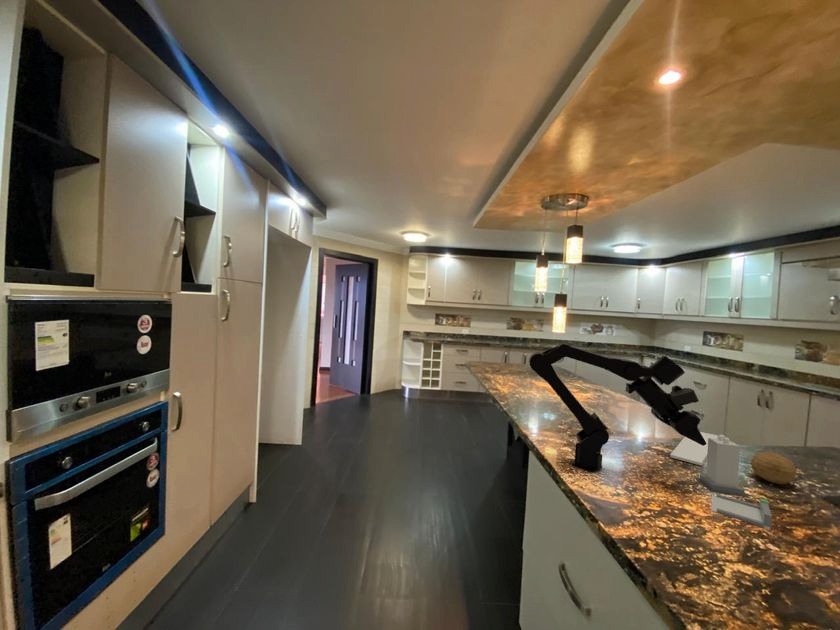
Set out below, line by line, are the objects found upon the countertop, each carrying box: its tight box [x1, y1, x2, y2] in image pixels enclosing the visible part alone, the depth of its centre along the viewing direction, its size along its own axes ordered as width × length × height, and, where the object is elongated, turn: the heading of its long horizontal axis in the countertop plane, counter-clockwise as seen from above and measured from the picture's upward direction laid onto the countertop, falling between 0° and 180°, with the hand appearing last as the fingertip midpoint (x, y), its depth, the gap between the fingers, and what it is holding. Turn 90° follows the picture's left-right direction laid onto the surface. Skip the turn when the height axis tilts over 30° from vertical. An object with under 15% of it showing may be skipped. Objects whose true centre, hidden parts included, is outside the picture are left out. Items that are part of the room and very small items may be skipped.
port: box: [710, 493, 773, 531], centre depth 85 cm, size 10×11×3 cm
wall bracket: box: [669, 431, 719, 467], centre depth 124 cm, size 10×7×28 cm
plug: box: [699, 434, 745, 495], centre depth 98 cm, size 7×7×14 cm
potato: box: [750, 451, 797, 485], centre depth 105 cm, size 10×14×8 cm
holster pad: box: [693, 476, 751, 499], centre depth 98 cm, size 9×9×1 cm
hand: (696, 439), depth 99 cm, fingers open, 9 cm apart
